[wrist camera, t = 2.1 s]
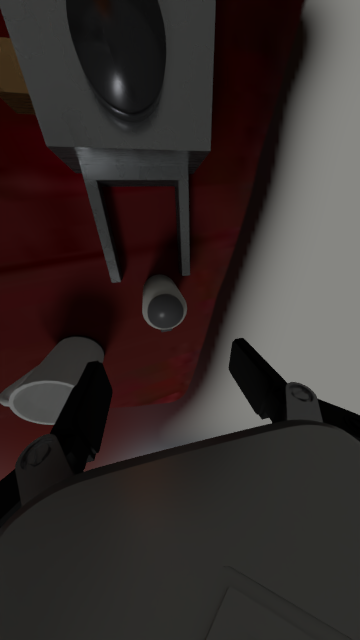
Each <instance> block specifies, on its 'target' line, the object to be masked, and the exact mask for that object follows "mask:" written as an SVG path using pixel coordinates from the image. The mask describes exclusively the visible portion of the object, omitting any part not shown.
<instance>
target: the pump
mask: <svg viewBox="0 0 360 640" xmlns="http://www.w3.org/2000/svg"><path fill="white" fill-rule="evenodd" d="M142 312H143V316H144V319H145V320H146V322H147V323H148V324H149V325H151V326H152V327H154V328H157V329H161V332H164V331H171V330H172V328H173V327H175V326H177V325H178V324H180V323H181V322H182V320H183V319H184V317H185V315H186V312H187V305H186V301H185V299H184V298H183V296H182V294H181V293H180V291H179V290H178V288H177V287H176V285H175V284H174V282H173V281H172V279H171V278H169V277H168V276H165V275H161V274H158V275H154V276H151V277H150V278H149V279H148V280H147V281H146V282H145V284H144V287H143V308H142Z"/></svg>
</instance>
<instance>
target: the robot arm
mask: <svg viewBox="0 0 360 640" xmlns="http://www.w3.org/2000/svg"><path fill="white" fill-rule="evenodd" d="M229 371H230V373H231V374H232V376H233V378H234V379H235V381H236V382H237V384H238V386H239V387H240V389H241V391H242V392H243V394H244V395H245V397H246V399H247V400H248V402H249V403H250V405H251V407H252V408H253V410H254V411H255V413H256V414H258V415H259V416H260V417H261V419H265V418H270V419H271V421H272V424H267V425H263V426H259V427H255V428H251V429H246V430H243V431H238V432H234V433H230V434H226V435H222V436H218V437H214V438H210V439H206V440H202V441H198V442H194V443H190V444H186V445H182V446H178V447H174V448H170V449H166V450H162V451H159V452H155V453H151V454H147V455H143V456H139V457H135V458H132V459H128V460H124V461H120V462H116V463H113V464H109V465H106V466H102V467H98V468H95V469H91V470H89V471H86V472H84V471H83V470H84V469H85V466H86V463H87V462H91V461H94V459H95V455H96V453H98V452H99V450H100V446H101V441H102V437H103V433H104V428H105V424H106V420H107V415H108V411H109V407H110V402H111V398H112V387H111V385H110V382H109V380H108V377H107V374H106V372H105V369H104V367H103V364H102V363H101V362H100V363H99V361H92V362H88V363H87V365H86V367H85V369H84V371H83V373H82V375H81V377H80V379H79V381H78V383H77V385H75V386H74V387H73V389H72V391H71V393H70V395H69V397H68V399H67V400H66V402H65V404H64V406H63V408H62V410H61V412H60V414H59V416H58V418H57V420H56V422H55V424H54V426H53V428H52V430H51V432H50V434H46V435H43V436H41V437H39V438H37V439H36V440H34V441H33V442H32V443H30V444H29V445H28V446H27V447H26V448H25V449H24V451H23V452H22V453H21V455H20V456H19V458H18V460H17V462H16V465H15V469H14V470H13V471H12V472H11V473H9V474H8V475H7V476H6V477H5V478H3V479H2V480H1V481H0V640H360V415H358V414H356V413H353V412H350V411H348V410H345V409H343V408H340V407H338V406H335V405H332V404H330V403H327V402H325V401H322V400H319V399H317V397H316V395H315V394H314V392H313V391H312V390H311V389H310V388H308V387H307V386H305V385H302V384H300V383H296V382H290V383H288V384H287V383H286V381H285V380H284V379H283V378H282V377H281V376H280V375H279V374H278V373H277V372H276V371H275V370H274V369H273V368H272V367H271V366H270V365H269V364H268V363H267V362H266V361H265V360H264V359H263V358H262V357H261V356H260V355H259V353H258V352H257V351H256V350H255V349H254V348H253V347H252V346H251V345H250V344H249V343H248V342H247V341H246V340H244V338H239V339H235V340H234V341H233V342H232V348H231V355H230V362H229Z"/></svg>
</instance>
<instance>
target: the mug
mask: <svg viewBox="0 0 360 640" xmlns="http://www.w3.org/2000/svg"><path fill="white" fill-rule="evenodd" d="M103 359H104V350H103V348H102V347H101V345H100V344H99V343H98V342H97V341H95V340H93V339H92V338H89V337H86V336H71V337H67V338H64V339H63V340H61V341H60V342H59V343H58V344H57V345H56V346H55V348H54V349H53V350H52V351H51V352H50V353H49V354H48V356H47V357H46V358H45V359H44V360H43V361H42V362H41V363H40V365H39V366H37V367H36V368H34V369H33V370H31V371H30V372H28V373H27V374H26V375H24V376H23V377H22V378H20V379H19V380H17V381H16V382H15V383H13V384H12V385H10V386H9V387H8V388H6V389H5V390H4V391H3V392H2V393H1V394H0V403H1V404H2V405H3V406H9V407H10V408H11V410H12V411H13V412H14V413H15V414H16V415H18V416H19V417H21V418H23V419H25V420H27V421H30V422H34V423H38V424H47V425H53V424H55V422H56V420H57V418H58V416H59V414H60V412H61V410H62V408H63V406H64V404H65V402H66V400H67V399H68V397H69V395H70V393H71V391H72V389H73V387H74V386H75V385H77V383H78V381H79V379H80V377H81V375H82V373H83V371H84V369H85V367H86V365H87V363H88V362H92V361H99V363H100V362H101V363H102V362H103ZM9 396H10V398H9V399H8V397H9Z"/></svg>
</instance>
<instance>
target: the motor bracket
mask: <svg viewBox="0 0 360 640" xmlns="http://www.w3.org/2000/svg"><path fill="white" fill-rule="evenodd" d="M215 6H216V0H0V8H1V11H2V14H3V17H4V20H5V23H6V26H7V29H8V32H9V35H10V38H3V37H0V97H1V98H2V99H3V100H4V101H5V102H6V103H7V104H8V105H9V106H10V107H11V108H12V109H13V110H14V111H15V112H16V113H17V114H34V115H36V116H37V119H38V122H39V125H40V128H41V131H42V134H43V137H44V140H45V143H46V146H47V147H48V148H49V149H50V150H51V151H52V152H53V153H55V154H56V155H57V156H58V157H59V158H60V159H61V160H62V161H63V162H64V163H65V164H66V165H67V166H69V167H70V168H71V169H72V170H73V171H74V172H75V173H82V174H83V178H84V181H85V185H86V189H87V192H88V196H89V200H90V203H91V207H92V211H93V215H94V218H95V222H96V226H97V229H98V233H99V237H100V240H101V244H102V248H103V252H104V255H105V259H106V263H107V266H108V270H109V274H110V277H111V281H112V283H114V282H121V280H122V279H123V276H122V272H121V267H120V263H119V259H118V254H117V250H116V246H115V241H114V237H113V233H112V228H111V224H110V220H109V215H108V211H107V207H106V202H105V198H104V194H103V189H102V187H124V186H175V201H176V221H177V241H178V261H179V273H180V274H181V275H182V276H186V275H190V248H189V187H188V174H194V172H195V171H196V170H197V168H198V167H199V166H200V164H201V163H202V162H203V160H204V159H205V158H206V156H207V155H208V154H209V152H210V150H211V121H212V93H213V64H214V35H215Z"/></svg>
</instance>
